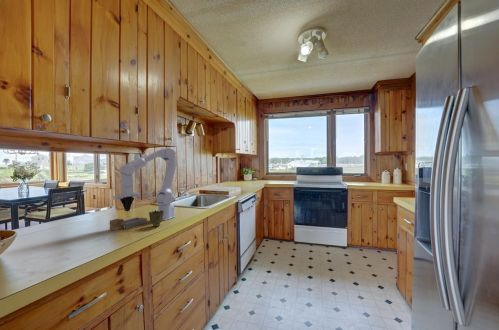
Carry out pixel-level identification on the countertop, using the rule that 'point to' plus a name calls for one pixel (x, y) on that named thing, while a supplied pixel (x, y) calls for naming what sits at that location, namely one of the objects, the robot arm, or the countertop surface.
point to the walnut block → (116, 224)
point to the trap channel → (134, 222)
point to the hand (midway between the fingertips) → (127, 210)
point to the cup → (156, 217)
